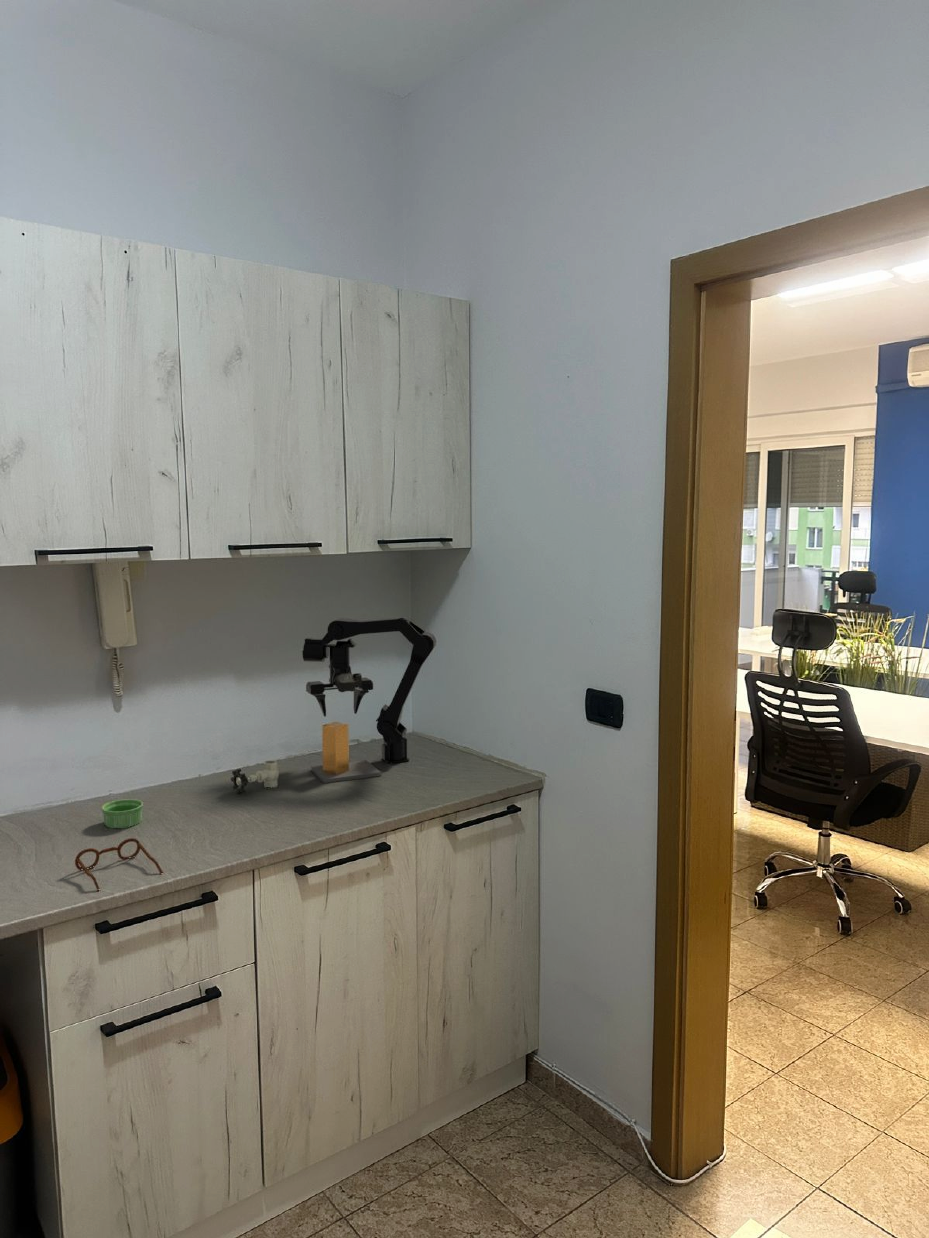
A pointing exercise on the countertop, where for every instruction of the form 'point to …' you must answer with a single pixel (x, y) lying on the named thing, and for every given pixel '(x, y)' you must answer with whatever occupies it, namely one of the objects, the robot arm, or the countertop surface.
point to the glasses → (118, 855)
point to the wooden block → (335, 748)
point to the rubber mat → (348, 772)
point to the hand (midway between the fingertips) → (340, 714)
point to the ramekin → (122, 813)
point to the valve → (257, 777)
